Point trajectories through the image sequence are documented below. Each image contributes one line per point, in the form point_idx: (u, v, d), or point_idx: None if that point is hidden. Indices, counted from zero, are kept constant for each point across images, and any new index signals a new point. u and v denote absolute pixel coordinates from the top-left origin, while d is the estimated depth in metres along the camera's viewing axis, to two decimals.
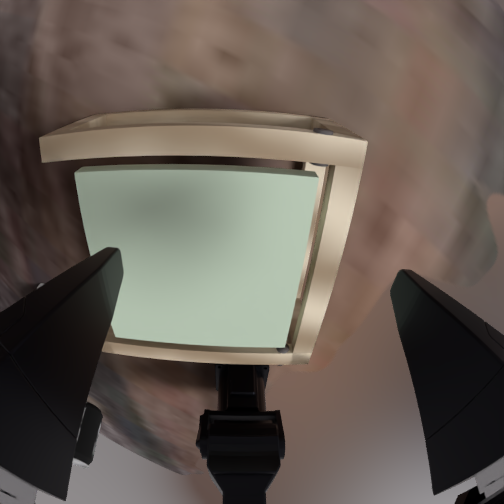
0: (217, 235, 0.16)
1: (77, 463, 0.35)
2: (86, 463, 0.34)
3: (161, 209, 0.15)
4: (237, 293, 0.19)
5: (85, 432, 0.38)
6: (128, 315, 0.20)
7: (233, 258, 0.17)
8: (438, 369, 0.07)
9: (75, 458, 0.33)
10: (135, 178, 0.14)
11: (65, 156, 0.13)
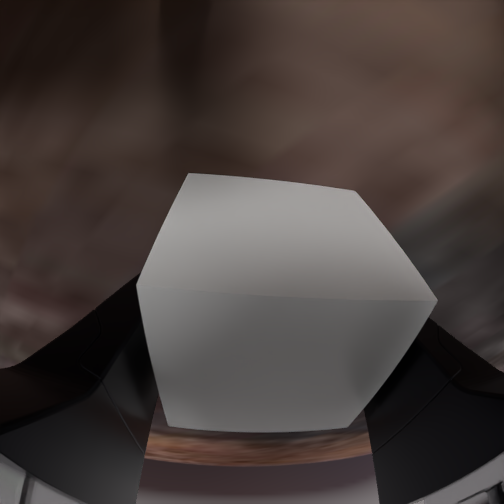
0: None
1: None
2: None
3: None
4: None
5: None
6: None
7: None
8: None
9: None
10: None
11: None
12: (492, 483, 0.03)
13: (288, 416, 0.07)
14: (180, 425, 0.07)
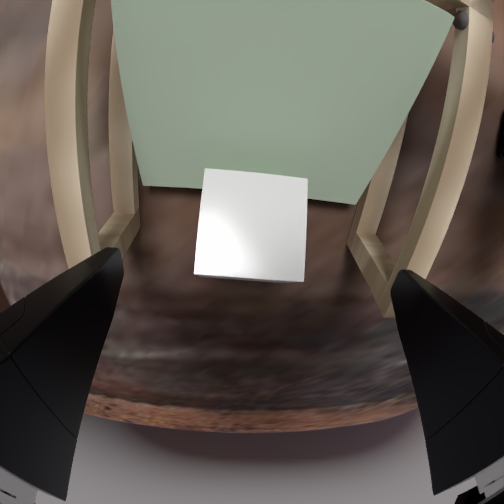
0: (203, 63, 0.10)
1: None
2: None
3: (171, 118, 0.13)
4: (310, 48, 0.09)
5: None
6: (324, 181, 0.16)
7: (241, 46, 0.09)
8: (438, 369, 0.07)
9: None
10: (140, 138, 0.14)
11: None
12: None
13: (252, 280, 0.17)
14: None
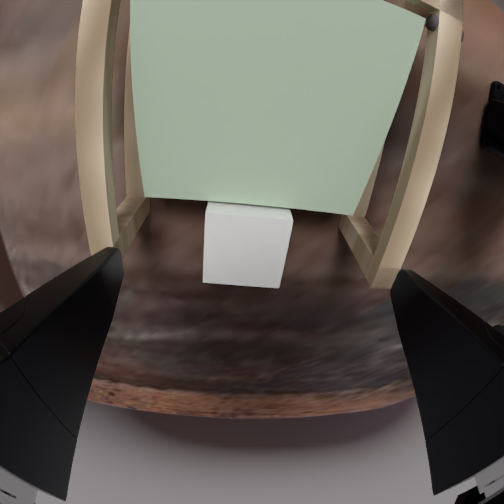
0: (208, 69, 0.12)
1: None
2: None
3: (176, 123, 0.14)
4: (302, 54, 0.11)
5: None
6: (321, 189, 0.17)
7: (242, 53, 0.11)
8: (438, 369, 0.07)
9: None
10: (145, 145, 0.15)
11: (108, 241, 0.14)
12: None
13: None
14: None
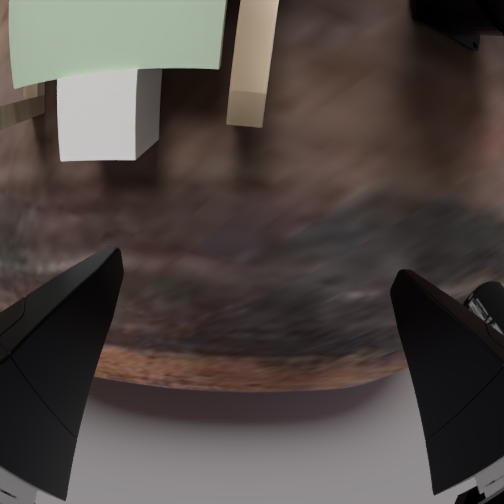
0: None
1: None
2: None
3: (34, 7, 0.08)
4: None
5: None
6: (168, 37, 0.11)
7: None
8: (438, 369, 0.07)
9: None
10: (14, 34, 0.09)
11: None
12: None
13: None
14: None
